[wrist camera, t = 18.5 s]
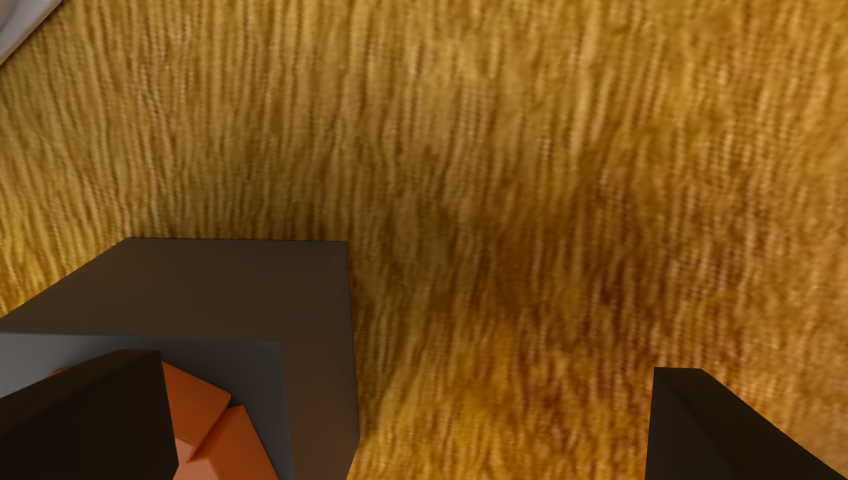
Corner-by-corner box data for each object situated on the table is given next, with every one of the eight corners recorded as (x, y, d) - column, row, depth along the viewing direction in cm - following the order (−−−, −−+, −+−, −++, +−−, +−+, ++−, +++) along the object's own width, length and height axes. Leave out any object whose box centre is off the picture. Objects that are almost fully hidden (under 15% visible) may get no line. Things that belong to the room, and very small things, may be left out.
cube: (159, 430, 23) (42, 576, 17) (125, 237, 21) (-21, 330, 15) (360, 440, 22) (306, 596, 16) (347, 240, 20) (280, 341, 14)
